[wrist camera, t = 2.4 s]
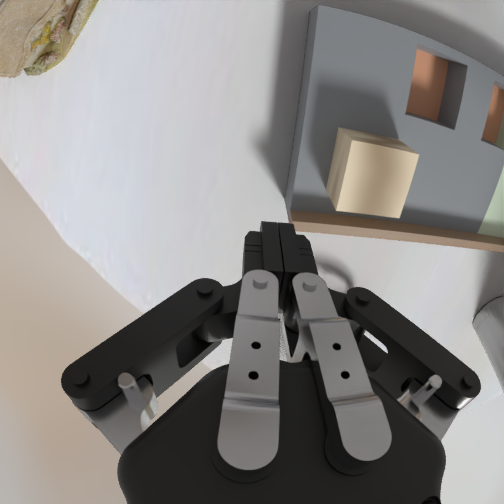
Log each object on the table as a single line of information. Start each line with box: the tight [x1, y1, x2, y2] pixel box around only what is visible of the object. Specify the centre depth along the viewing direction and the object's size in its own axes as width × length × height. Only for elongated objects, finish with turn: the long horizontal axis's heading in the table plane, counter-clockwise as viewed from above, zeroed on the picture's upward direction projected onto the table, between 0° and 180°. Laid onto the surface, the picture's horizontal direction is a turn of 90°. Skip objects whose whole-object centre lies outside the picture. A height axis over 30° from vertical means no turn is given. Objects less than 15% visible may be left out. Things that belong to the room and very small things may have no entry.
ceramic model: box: [0, 0, 98, 78], centre depth 15 cm, size 14×11×10 cm
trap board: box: [285, 5, 504, 252], centre depth 24 cm, size 32×20×7 cm, turn 85°
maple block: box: [326, 127, 419, 218], centre depth 24 cm, size 6×6×4 cm
